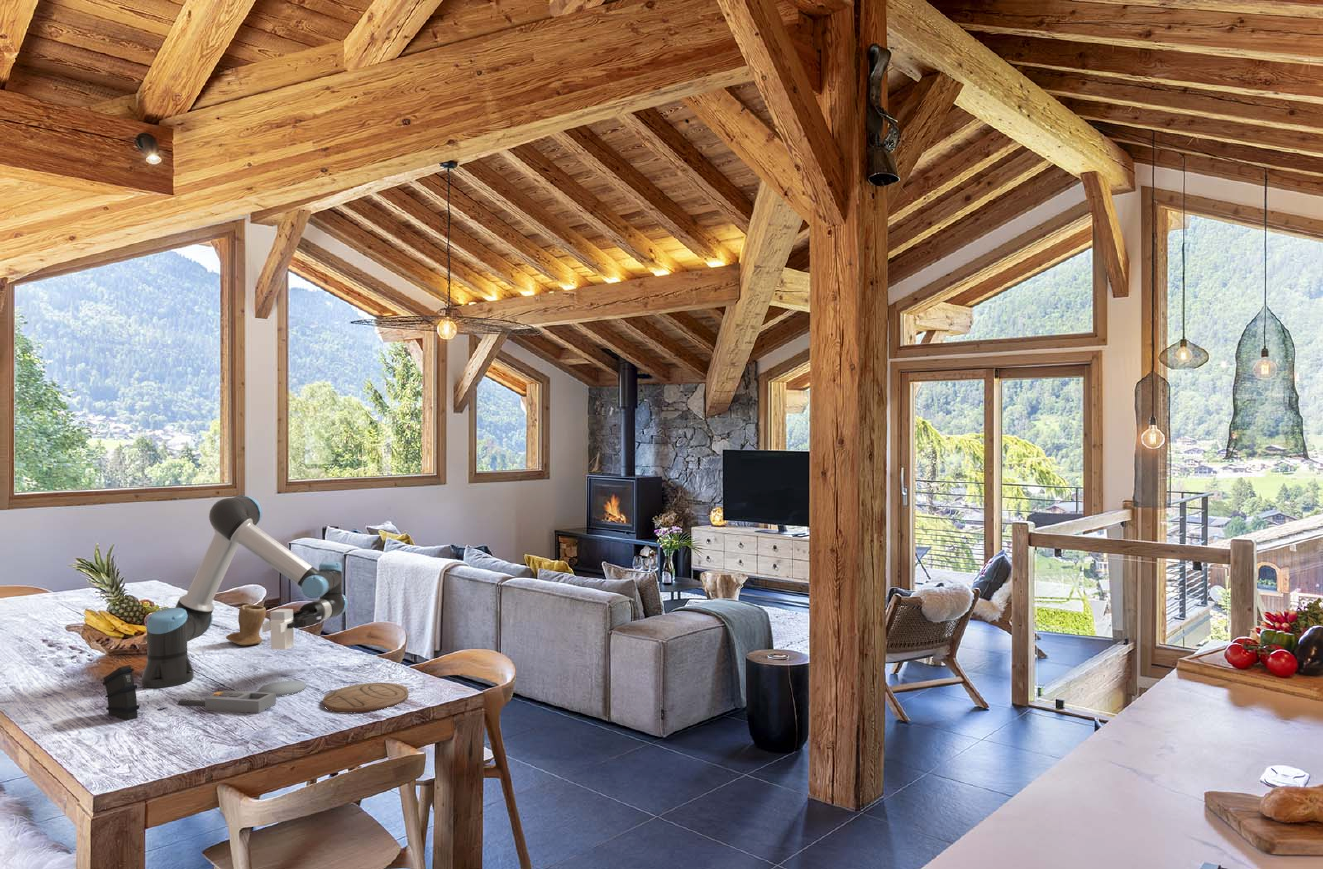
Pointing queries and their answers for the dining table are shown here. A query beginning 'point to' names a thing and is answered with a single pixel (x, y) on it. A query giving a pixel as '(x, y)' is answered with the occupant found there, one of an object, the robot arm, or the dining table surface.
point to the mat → (283, 687)
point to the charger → (278, 639)
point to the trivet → (365, 697)
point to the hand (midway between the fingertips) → (271, 628)
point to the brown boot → (249, 625)
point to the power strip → (235, 701)
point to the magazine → (121, 693)
